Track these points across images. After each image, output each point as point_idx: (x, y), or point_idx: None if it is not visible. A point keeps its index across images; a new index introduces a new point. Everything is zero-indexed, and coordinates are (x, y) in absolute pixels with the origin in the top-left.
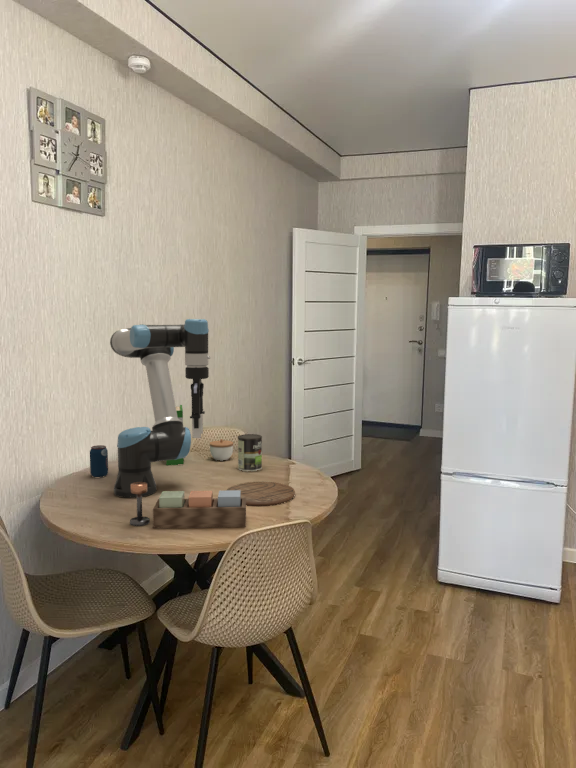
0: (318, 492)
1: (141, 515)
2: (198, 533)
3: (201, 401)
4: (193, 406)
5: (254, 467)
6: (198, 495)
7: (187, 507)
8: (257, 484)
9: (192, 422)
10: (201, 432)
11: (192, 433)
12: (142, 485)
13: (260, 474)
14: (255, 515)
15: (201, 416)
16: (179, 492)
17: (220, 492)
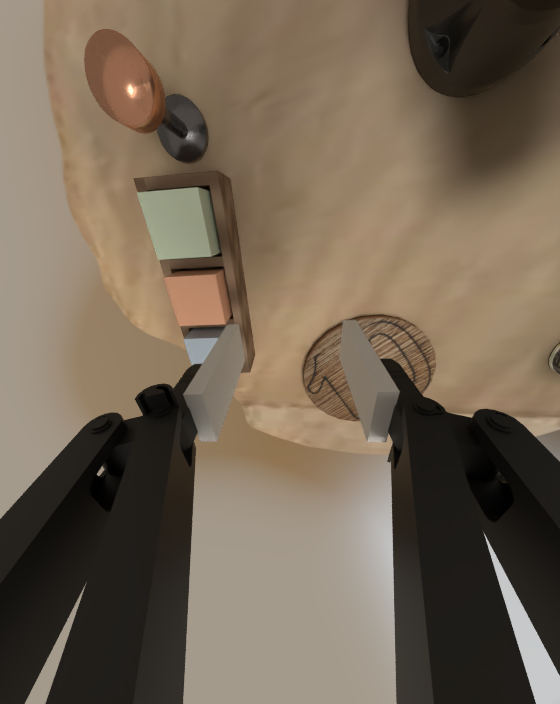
0: (363, 441)
1: (173, 133)
2: (160, 288)
3: (395, 601)
4: (8, 539)
5: (557, 365)
6: (183, 298)
7: (170, 270)
8: (413, 372)
9: (198, 374)
10: (341, 356)
11: (221, 335)
12: (107, 107)
13: (514, 371)
14: (258, 367)
15: (364, 424)
16: (196, 245)
17: (214, 341)
